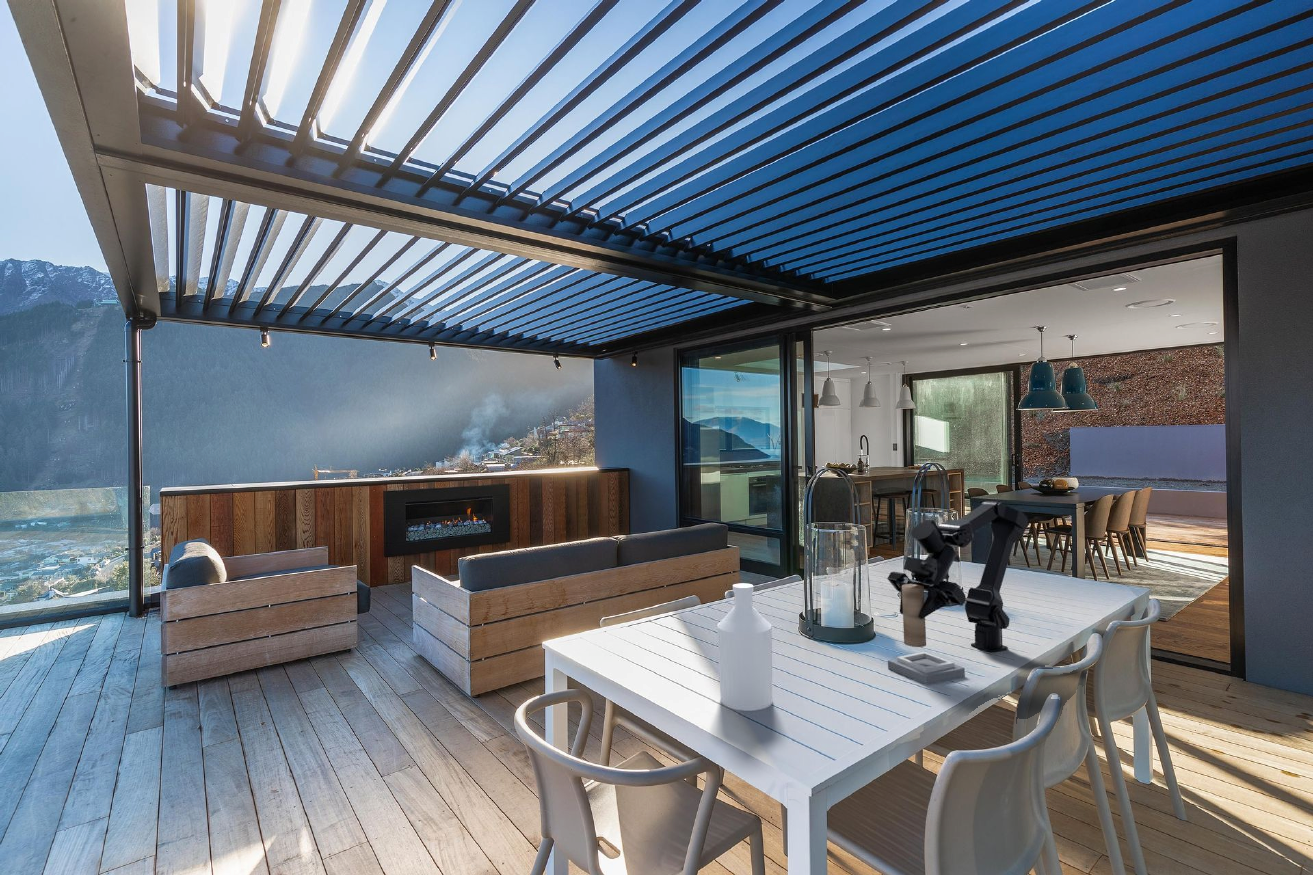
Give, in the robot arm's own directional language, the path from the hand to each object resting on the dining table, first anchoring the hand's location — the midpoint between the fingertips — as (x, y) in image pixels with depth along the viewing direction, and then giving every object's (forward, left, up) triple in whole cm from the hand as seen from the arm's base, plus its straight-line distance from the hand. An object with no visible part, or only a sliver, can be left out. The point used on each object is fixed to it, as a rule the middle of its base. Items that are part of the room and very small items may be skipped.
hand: (910, 615), depth 148 cm
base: (-2, +2, -13) cm, 14 cm away
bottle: (+45, -3, -14) cm, 47 cm away
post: (-1, 0, -7) cm, 7 cm away
